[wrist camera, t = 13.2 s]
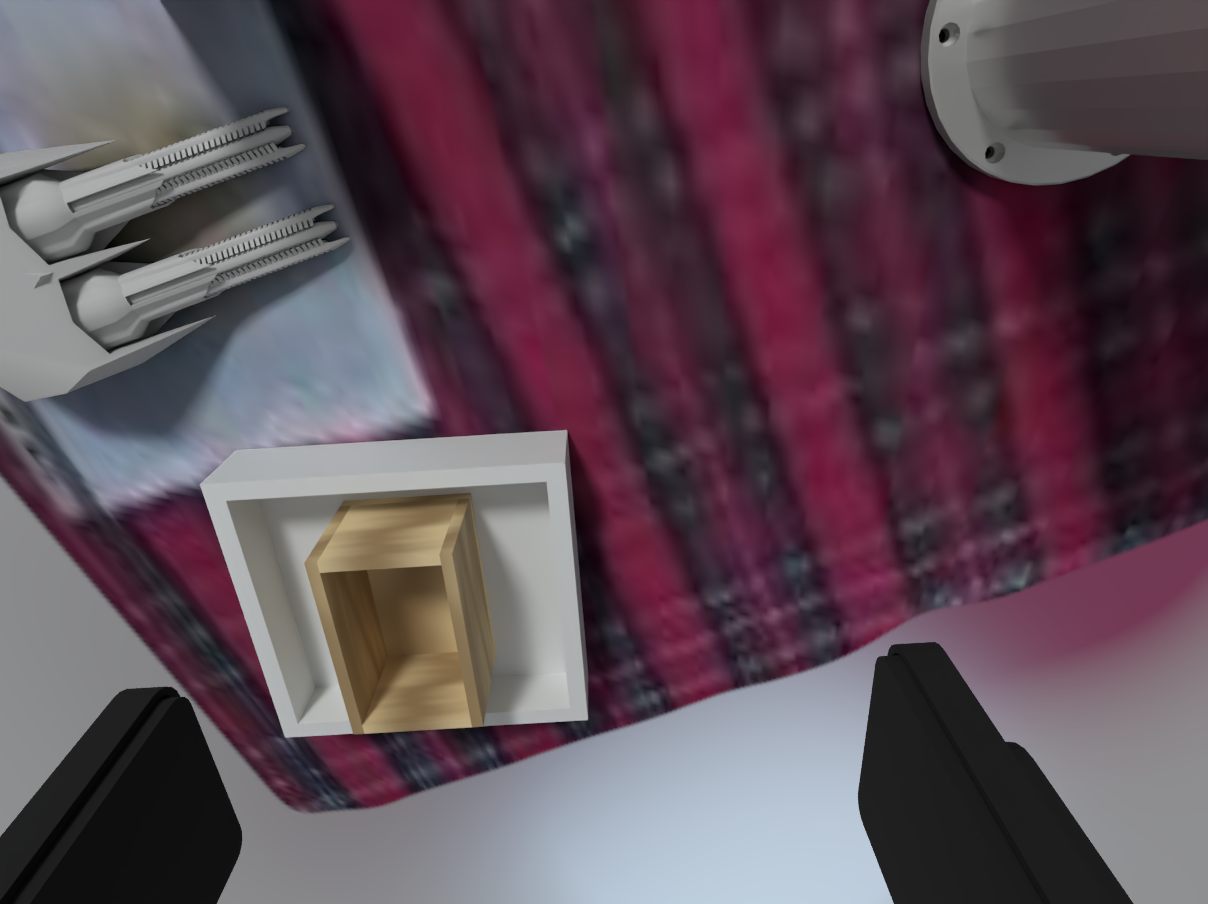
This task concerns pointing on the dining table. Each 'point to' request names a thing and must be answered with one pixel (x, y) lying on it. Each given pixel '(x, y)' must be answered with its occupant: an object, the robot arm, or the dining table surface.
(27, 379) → the turret
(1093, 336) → the dining table surface
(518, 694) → the white tray
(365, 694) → the pine crate
